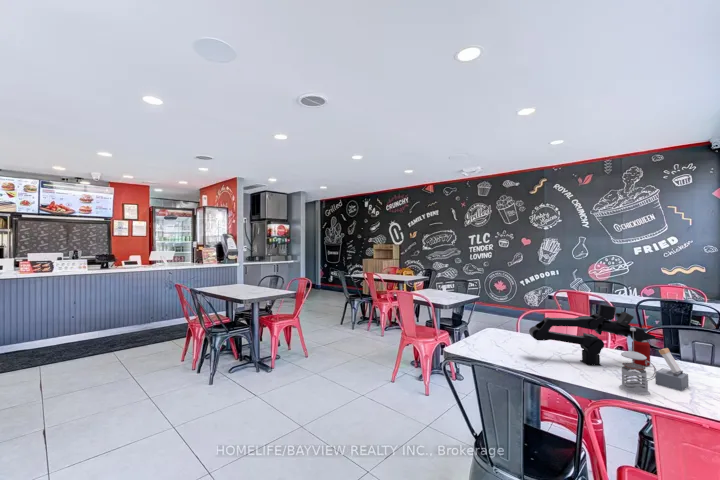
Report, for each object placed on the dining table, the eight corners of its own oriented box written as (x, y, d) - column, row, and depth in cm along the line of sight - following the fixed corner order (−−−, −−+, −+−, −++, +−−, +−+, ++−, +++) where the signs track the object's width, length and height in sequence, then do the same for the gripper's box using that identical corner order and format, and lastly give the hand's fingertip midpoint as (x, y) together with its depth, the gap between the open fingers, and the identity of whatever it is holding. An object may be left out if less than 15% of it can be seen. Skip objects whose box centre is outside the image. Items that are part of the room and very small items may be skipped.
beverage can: (643, 362, 162) (642, 338, 162) (654, 367, 155) (653, 342, 156) (628, 361, 163) (628, 338, 163) (639, 366, 156) (638, 341, 156)
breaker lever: (674, 375, 131) (658, 350, 136) (678, 373, 134) (662, 348, 139) (679, 374, 130) (663, 349, 134) (683, 372, 133) (667, 347, 137)
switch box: (655, 384, 135) (655, 369, 135) (662, 379, 140) (662, 365, 140) (681, 391, 128) (681, 375, 128) (688, 386, 133) (688, 371, 133)
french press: (616, 383, 136) (615, 323, 136) (652, 389, 130) (651, 327, 131) (621, 391, 127) (619, 328, 128) (660, 398, 121) (658, 332, 122)
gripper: (625, 314, 149) (665, 322, 145) (604, 308, 167) (639, 314, 163) (621, 338, 149) (660, 346, 145) (601, 328, 167) (635, 336, 163)
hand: (648, 334), depth 154 cm, fingers open, 9 cm apart
